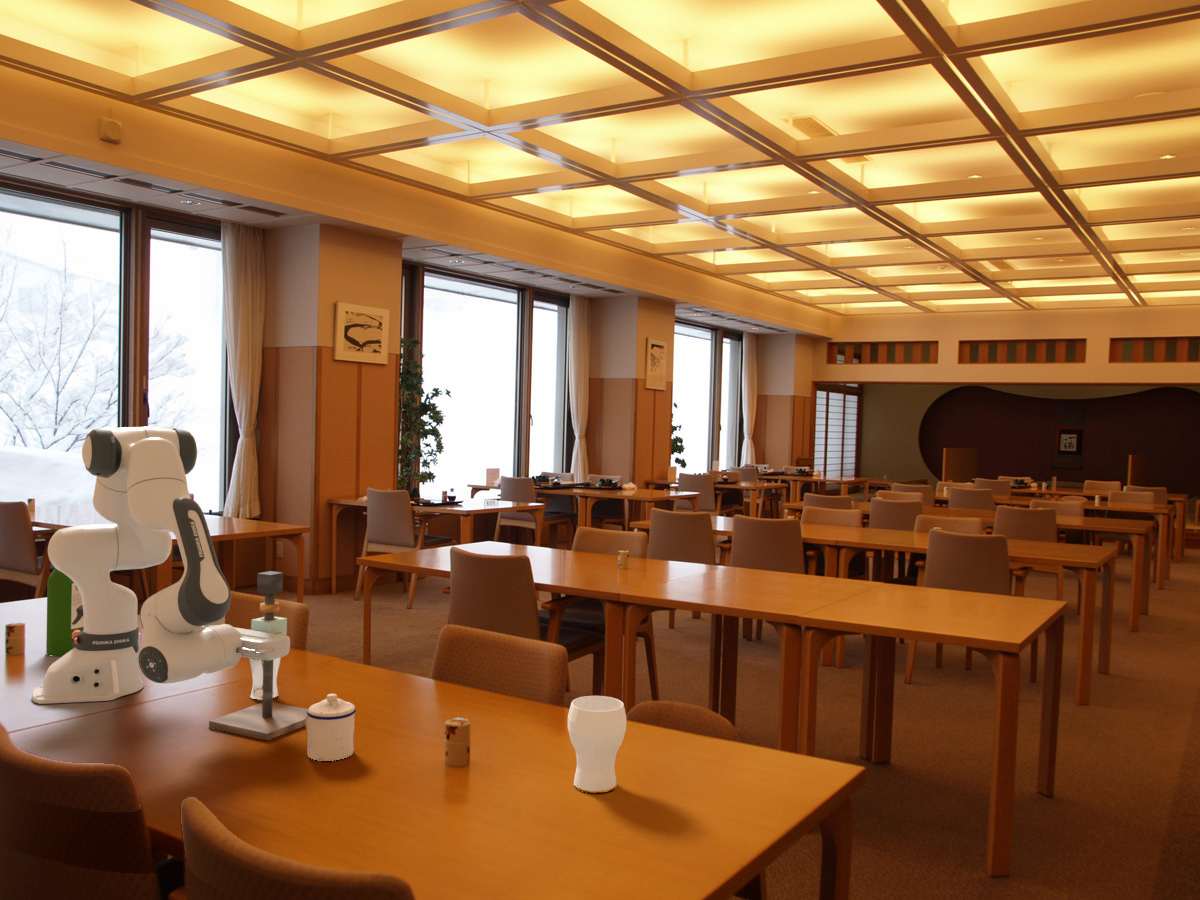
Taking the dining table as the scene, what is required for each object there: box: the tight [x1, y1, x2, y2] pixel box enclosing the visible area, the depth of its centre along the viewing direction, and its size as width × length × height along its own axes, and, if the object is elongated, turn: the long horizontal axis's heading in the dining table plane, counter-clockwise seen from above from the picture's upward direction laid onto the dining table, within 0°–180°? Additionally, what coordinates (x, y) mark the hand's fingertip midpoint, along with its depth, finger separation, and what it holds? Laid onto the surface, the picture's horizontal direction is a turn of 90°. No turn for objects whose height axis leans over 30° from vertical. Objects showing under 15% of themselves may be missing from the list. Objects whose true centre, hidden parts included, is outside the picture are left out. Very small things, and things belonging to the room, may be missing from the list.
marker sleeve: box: [250, 615, 288, 661], centre depth 194 cm, size 5×5×8 cm
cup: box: [567, 695, 627, 791], centre depth 166 cm, size 11×11×15 cm
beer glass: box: [249, 657, 282, 701], centre depth 213 cm, size 7×7×15 cm
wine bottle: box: [45, 567, 84, 657], centre depth 246 cm, size 9×9×32 cm
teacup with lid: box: [305, 693, 357, 762], centre depth 178 cm, size 12×9×12 cm
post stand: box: [208, 570, 308, 741], centre depth 194 cm, size 16×16×32 cm
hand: (272, 634), depth 195 cm, fingers closed on marker sleeve, 5 cm apart
